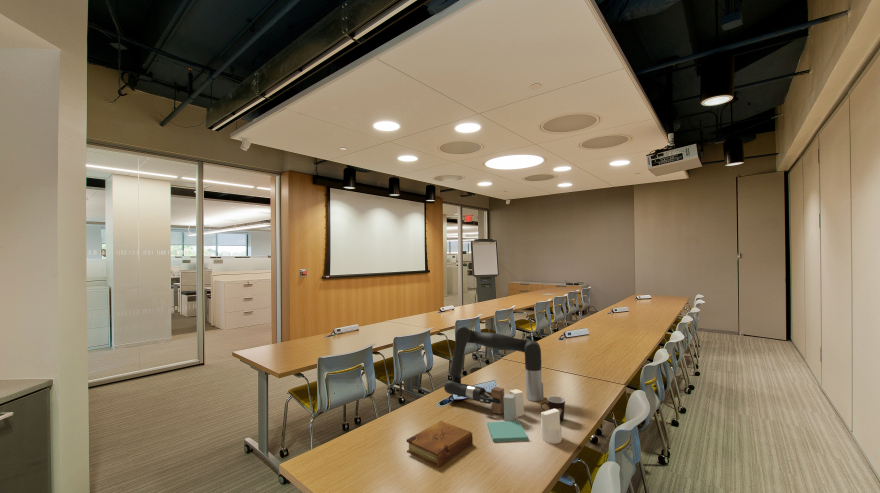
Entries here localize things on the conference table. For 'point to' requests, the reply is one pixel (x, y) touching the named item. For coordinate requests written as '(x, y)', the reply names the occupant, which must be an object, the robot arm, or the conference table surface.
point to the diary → (439, 443)
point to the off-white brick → (518, 402)
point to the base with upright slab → (551, 426)
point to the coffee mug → (556, 405)
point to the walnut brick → (498, 394)
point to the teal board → (507, 431)
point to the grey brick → (509, 407)
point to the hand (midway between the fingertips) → (502, 399)
